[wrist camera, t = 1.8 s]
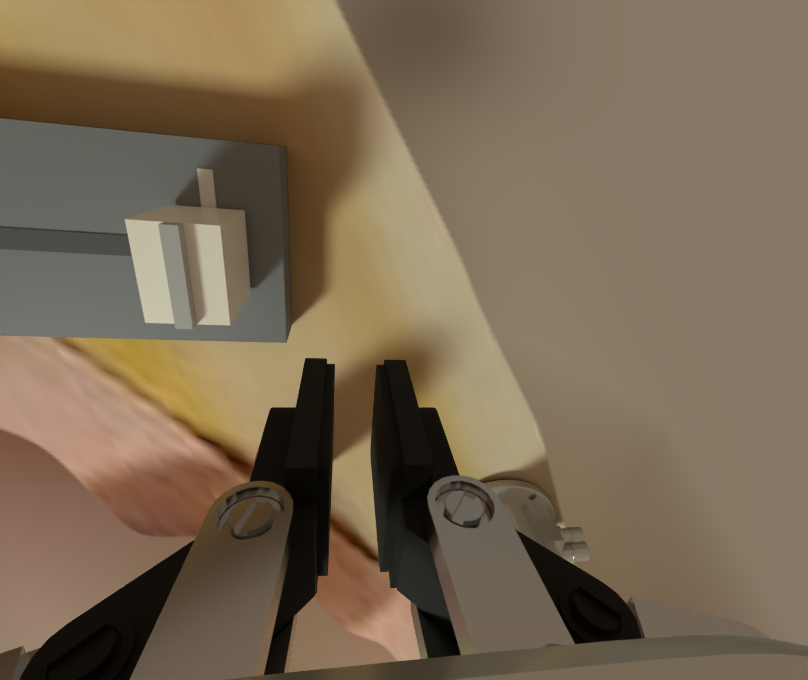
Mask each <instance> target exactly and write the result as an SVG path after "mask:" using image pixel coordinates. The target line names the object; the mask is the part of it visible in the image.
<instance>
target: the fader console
mask: <svg viewBox="0 0 808 680" xmlns="http://www.w3.org/2000/svg"><path fill="white" fill-rule="evenodd" d="M167 205H179V206H193V207H206V208H220V209H233V210H245V220H246V234H247V248H248V261H249V275H250V288H251V294H250V296H249V297H248V299H247V300H246V302H245V303H244V305H243V307H242V308H241V310H240V311H239V313H238V314H237V316H236V317H235V319H234V320H233V322H232V323H231V325H198V324H197V325H196V326H195V327H194V328H193V329H175V324H166V323H145V319H144V314H143V309H142V304H141V299H140V294H139V289H138V284H137V279H136V274H135V269H134V264H133V259H132V254H131V249H130V244H129V239H128V234H127V229H126V224H125V219H127V218H130V217H133V216H136V215H139V214H142V213H145V212H148V211H152V210H155V209H158V208H161V207H164V206H167ZM291 326H292V314H291V280H290V246H289V212H288V178H287V146H278V145H268V144H258V143H248V142H238V141H228V140H218V139H208V138H198V137H188V136H178V135H168V134H158V133H148V132H138V131H128V130H118V129H108V128H98V127H88V126H78V125H68V124H58V123H48V122H38V121H28V120H18V119H8V118H0V336H40V337H80V338H120V339H160V340H200V341H240V342H280V343H287V339H288V336H289V333H290V329H291Z"/></svg>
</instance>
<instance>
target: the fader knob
mask: <svg viewBox="0 0 808 680" xmlns="http://www.w3.org/2000/svg"><path fill="white" fill-rule="evenodd" d="M125 224H126V229H127V234H128V239H129V244H130V249H131V254H132V259H133V264H134V269H135V274H136V279H137V284H138V289H139V294H140V299H141V304H142V309H143V314H144V319H145V323H166V324H175V329H193V328H194V327H195V326H196V325H197V324H198V325H231V323H232V322H233V320H234V319H235V317H236V316H237V314H238V313H239V311H240V310H241V308H242V307H243V305H244V303H245V302H246V300H247V299H248V297H249V296H250V294H251V288H250V275H249V261H248V248H247V234H246V220H245V210H233V209H220V208H206V207H193V206H179V205H167V206H164V207H161V208H158V209H155V210H152V211H148V212H145V213H142V214H139V215H136V216H133V217H130V218H127V219H125Z"/></svg>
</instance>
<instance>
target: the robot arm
mask: <svg viewBox="0 0 808 680" xmlns="http://www.w3.org/2000/svg"><path fill="white" fill-rule="evenodd" d="M334 378H335V364H327V359H320V358H305V363H304V368H303V373H302V379H301V384H300V389H299V394H298V399H297V405H296V408H271V409H270V412H269V415H268V418H267V422H266V425H265V429H264V432H263V436H262V439H261V442H260V446H259V449H258V453H257V456H256V460H255V463H254V467H253V470H252V474H251V477H250V481H249V482H247V483H244V484H240V485H237V486H235V487H233V488H231V489H230V490H228V491H226V492H224V493H223V494H222V495H221V496H220V497H219V498H217V499H216V500H215V502H214V503H213V504H212V506H211V507H210V509H209V510H208V513H207V515H206V517H205V519H204V521H203V523H202V525H201V528H200V530H199V532H198V534H197V536H196V538H195V540H194V541H192V542H190V543H189V544H188V545H186V546H184V547H183V548H182V549H180V550H178V551H177V552H175V553H174V554H172V555H171V556H169V557H168V558H166V559H165V560H163V561H162V562H160V563H159V564H157V565H156V566H154V567H153V568H151V569H150V570H148V571H147V572H145V573H144V574H142V575H141V576H139V577H138V578H136V579H135V580H133V581H131V582H130V583H129V584H127V585H125V586H124V587H123V588H121V589H119V590H118V591H116V592H115V593H113V594H112V595H110V596H109V597H107V598H106V599H104V600H103V601H101V602H100V603H98V604H97V605H95V606H94V607H92V608H91V609H89V610H88V611H86V612H85V613H83V614H82V615H80V616H79V617H77V618H76V619H74V620H72V621H71V622H69V623H68V624H67V625H65V626H64V627H63V628H62V629H60V630H59V631H58V632H57V633H55V634H54V635H53V636H51V637H50V638H49V639H48V640H47V641H46V642H45V643H44V645H43V646H42V647H41V648H39V649H36V650H33V651H30V652H27V653H26V651H25V649H24V648H23V646H21V647H18V648H15V649H12V650H9V651H6V652H4V653H1V654H0V680H808V646H805V645H799V644H795V643H790V642H785V641H780V640H774V639H771V638H769V637H768V636H766V635H765V634H763V633H762V632H760V631H758V630H757V629H755V628H754V627H752V626H749V625H747V624H744V623H741V622H739V621H736V620H732V619H727V618H723V617H719V616H715V615H711V614H706V613H702V612H698V611H693V610H690V609H685V608H681V607H677V606H672V605H668V604H664V603H660V602H656V601H652V600H647V599H643V598H639V597H635V596H631V598H630V599H629V601H624V600H623V599H622V598H621V597H620V596H619V595H618V594H617V593H616V592H615V591H613V590H612V589H611V588H609V587H608V586H607V585H605V584H604V583H603V582H601V581H599V580H598V579H596V578H594V577H593V576H591V575H589V574H588V573H586V572H585V571H583V570H581V569H580V568H578V567H576V566H575V565H573V564H572V563H570V562H575V561H588V560H589V558H590V551H589V548H588V545H587V544H586V542H585V541H584V538H585V536H584V532H583V530H582V528H581V527H567V528H560V527H559V526H556V524H555V513H554V509H553V506H552V504H551V502H550V501H549V499H548V497H547V496H546V494H545V493H544V492H543V491H542V490H541V489H540V488H538V487H536V486H534V485H533V484H530V483H527V482H524V481H518V480H496V481H491V482H486V483H482V482H480V481H478V480H476V479H474V478H470V477H467V476H459V473H458V470H457V467H456V464H455V461H454V458H453V456H452V453H451V450H450V447H449V444H448V441H447V438H446V435H445V433H444V430H443V427H442V424H441V421H440V418H439V415H438V412H437V410H436V409H435V408H419V407H418V403H417V400H416V396H415V392H414V389H413V385H412V382H411V378H410V375H409V371H408V368H407V364H406V361H405V360H385V361H384V365H377V367H376V378H375V392H374V406H373V420H372V434H371V467H372V479H373V492H374V504H375V517H376V529H377V541H378V554H379V566H380V572H388V571H389V578H390V588H397V590H398V591H399V592H400V593H401V594H403V595H404V596H405V597H406V598H407V599H409V600H410V601H411V614H412V618H413V623H414V628H415V633H416V638H417V643H418V647H419V652H420V657H421V659H418V660H408V661H398V662H388V663H379V664H369V665H358V666H348V667H339V668H329V669H320V670H309V671H300V672H291V673H288V671H289V666H290V660H291V654H292V648H293V641H294V636H295V630H296V624H297V613H298V612H299V611H300V610H301V609H302V608H303V607H304V606H305V605H306V604H307V603H308V602H309V601H310V600H311V599H312V598H313V597H314V596H315V594H316V593H317V581H318V576H327V575H328V558H329V534H330V510H331V486H332V463H333V425H334ZM568 561H570V562H568Z"/></svg>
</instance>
